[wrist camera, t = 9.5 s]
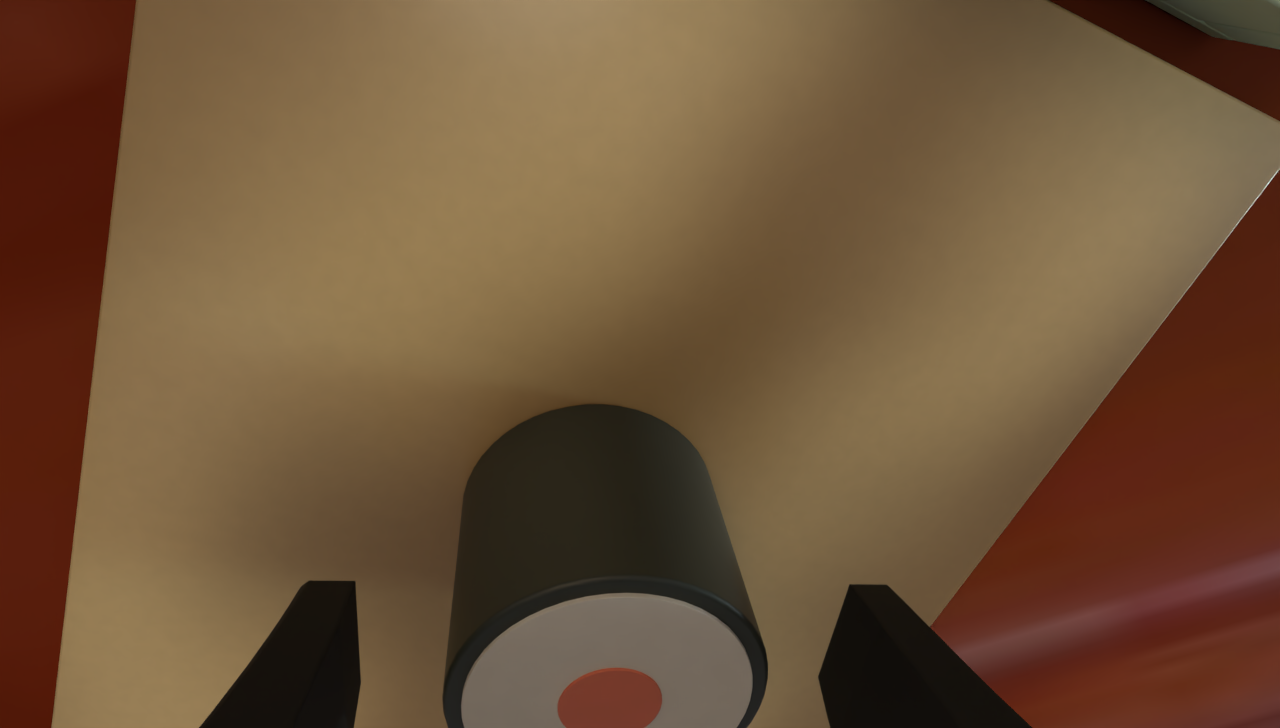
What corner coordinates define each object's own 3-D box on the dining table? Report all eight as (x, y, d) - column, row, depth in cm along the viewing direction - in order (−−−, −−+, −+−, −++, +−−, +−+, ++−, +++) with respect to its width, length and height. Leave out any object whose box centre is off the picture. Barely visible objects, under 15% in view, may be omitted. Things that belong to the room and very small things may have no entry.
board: (1256, 120, 13) (1307, 135, 12) (736, 831, 22) (744, 869, 21) (220, -417, 9) (186, -454, 8) (67, 748, 17) (42, 793, 16)
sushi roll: (731, 408, 14) (804, 585, 10) (690, 598, 16) (738, 800, 12) (465, 395, 13) (442, 583, 9) (459, 597, 15) (439, 813, 11)
